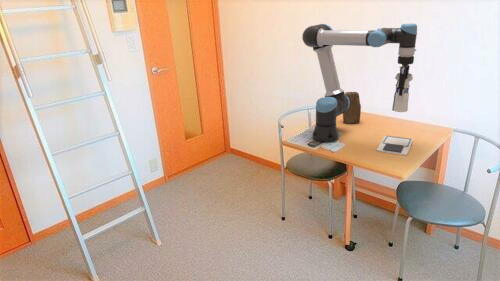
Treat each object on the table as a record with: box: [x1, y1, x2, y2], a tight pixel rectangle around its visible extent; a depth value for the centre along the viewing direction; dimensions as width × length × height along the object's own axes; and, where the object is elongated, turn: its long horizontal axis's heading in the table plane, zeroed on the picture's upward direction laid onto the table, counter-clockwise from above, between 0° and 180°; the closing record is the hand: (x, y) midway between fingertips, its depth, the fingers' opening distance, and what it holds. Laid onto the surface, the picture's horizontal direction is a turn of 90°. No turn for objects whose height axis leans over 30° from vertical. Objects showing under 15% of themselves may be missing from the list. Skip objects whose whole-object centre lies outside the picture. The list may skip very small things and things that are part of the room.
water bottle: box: [391, 64, 413, 113], centre depth 188 cm, size 8×9×25 cm
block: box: [342, 91, 362, 125], centre depth 232 cm, size 11×8×20 cm
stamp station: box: [376, 135, 414, 157], centre depth 196 cm, size 15×22×1 cm
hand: (401, 99), depth 191 cm, fingers closed on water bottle, 7 cm apart
